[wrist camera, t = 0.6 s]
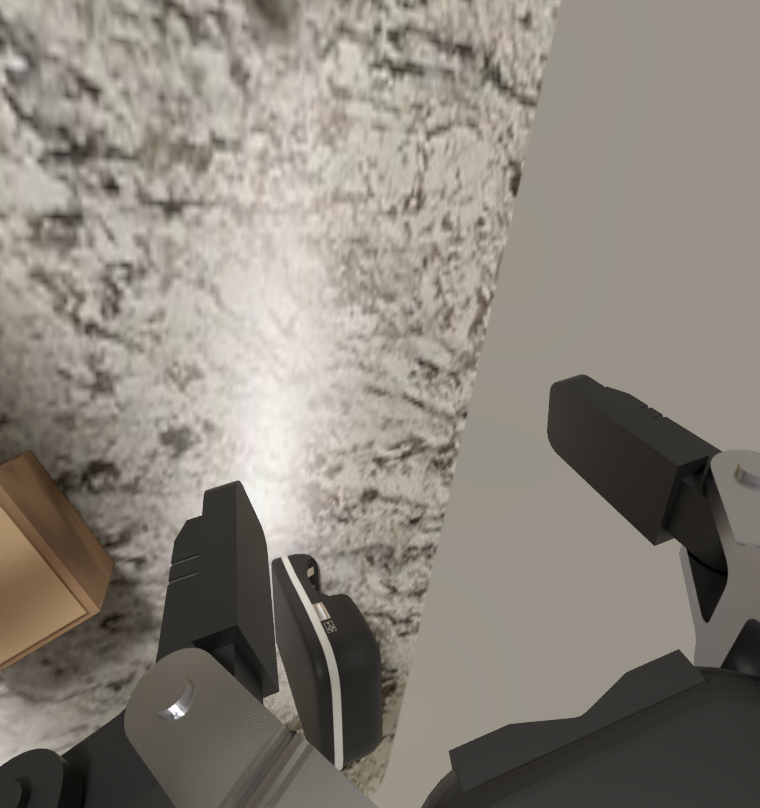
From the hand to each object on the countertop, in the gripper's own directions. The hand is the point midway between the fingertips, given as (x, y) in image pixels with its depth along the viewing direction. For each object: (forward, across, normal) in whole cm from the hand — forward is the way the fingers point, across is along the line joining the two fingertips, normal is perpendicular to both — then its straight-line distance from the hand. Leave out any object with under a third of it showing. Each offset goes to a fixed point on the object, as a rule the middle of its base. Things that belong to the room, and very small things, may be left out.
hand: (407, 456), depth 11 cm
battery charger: (+12, +7, +20) cm, 25 cm away
